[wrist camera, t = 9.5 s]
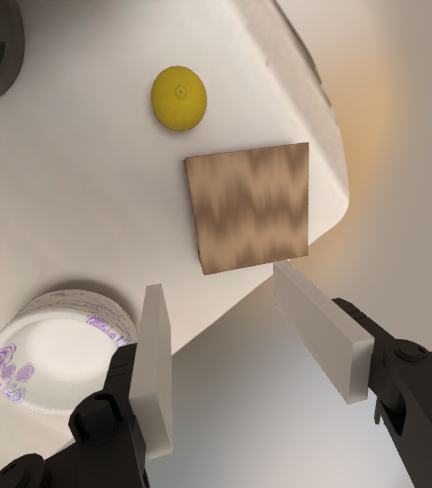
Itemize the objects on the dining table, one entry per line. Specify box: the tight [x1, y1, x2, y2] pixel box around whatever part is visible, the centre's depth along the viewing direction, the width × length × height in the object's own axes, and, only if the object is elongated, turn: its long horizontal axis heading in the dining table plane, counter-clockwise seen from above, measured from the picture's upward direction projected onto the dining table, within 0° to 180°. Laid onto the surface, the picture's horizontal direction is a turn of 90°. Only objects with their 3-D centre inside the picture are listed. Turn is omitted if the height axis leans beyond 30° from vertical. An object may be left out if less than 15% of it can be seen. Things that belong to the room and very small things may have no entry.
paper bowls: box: [0, 289, 137, 415], centre depth 32 cm, size 15×15×8 cm
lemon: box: [151, 66, 207, 131], centre depth 25 cm, size 6×6×8 cm
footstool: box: [184, 142, 309, 275], centre depth 32 cm, size 14×4×14 cm
